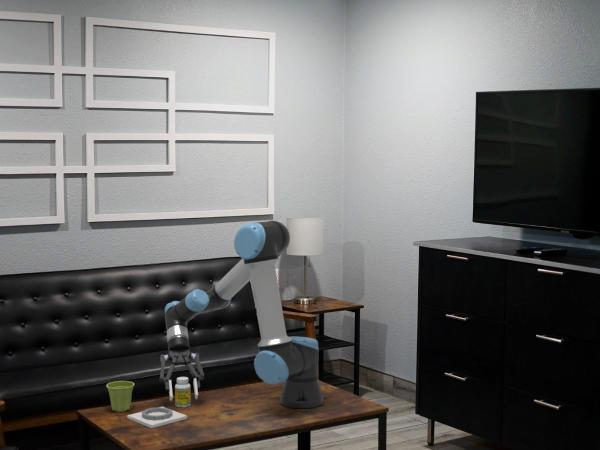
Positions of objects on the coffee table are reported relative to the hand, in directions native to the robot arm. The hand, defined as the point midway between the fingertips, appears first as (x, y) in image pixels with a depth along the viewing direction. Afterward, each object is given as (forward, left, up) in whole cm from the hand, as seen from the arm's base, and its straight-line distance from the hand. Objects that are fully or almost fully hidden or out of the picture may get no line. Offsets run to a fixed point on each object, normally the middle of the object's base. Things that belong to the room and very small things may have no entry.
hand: (184, 397), depth 303 cm
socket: (-3, +13, -4) cm, 14 cm away
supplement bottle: (+3, -2, -4) cm, 5 cm away
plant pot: (+14, +16, -4) cm, 22 cm away
